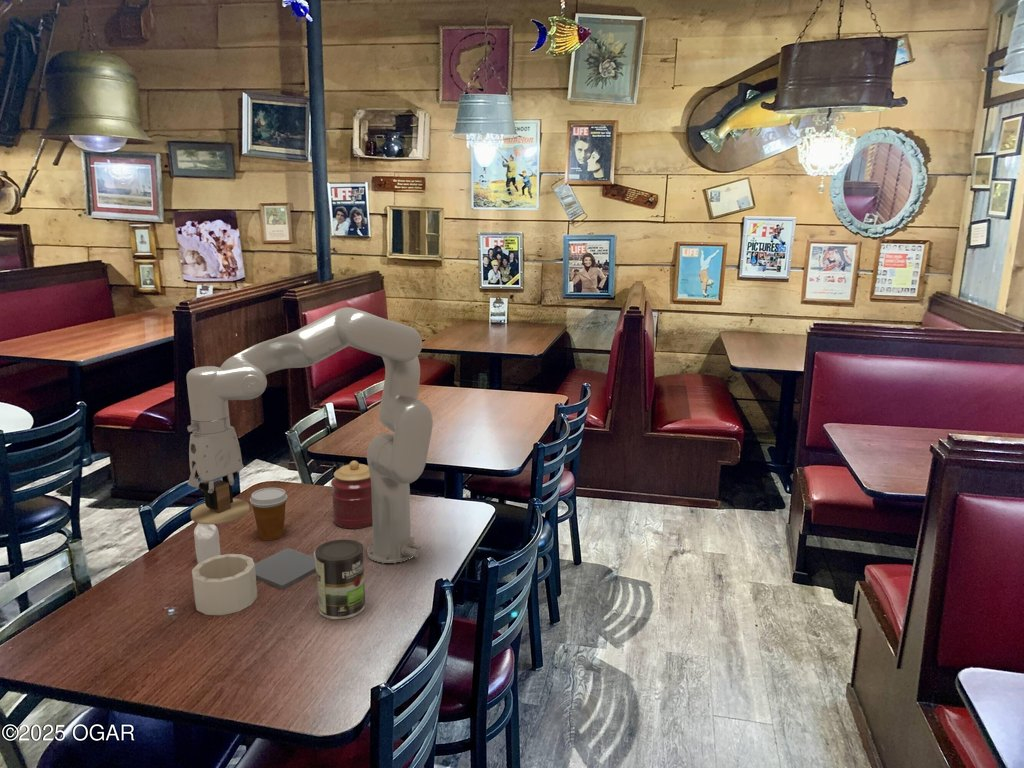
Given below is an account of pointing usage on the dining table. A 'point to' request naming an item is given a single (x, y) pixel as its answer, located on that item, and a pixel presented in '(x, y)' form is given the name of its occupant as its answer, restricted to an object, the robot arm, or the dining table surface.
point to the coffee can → (340, 579)
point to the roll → (206, 542)
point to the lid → (220, 507)
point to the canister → (352, 496)
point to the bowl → (224, 584)
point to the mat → (285, 568)
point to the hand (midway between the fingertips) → (219, 504)
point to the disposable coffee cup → (269, 512)
